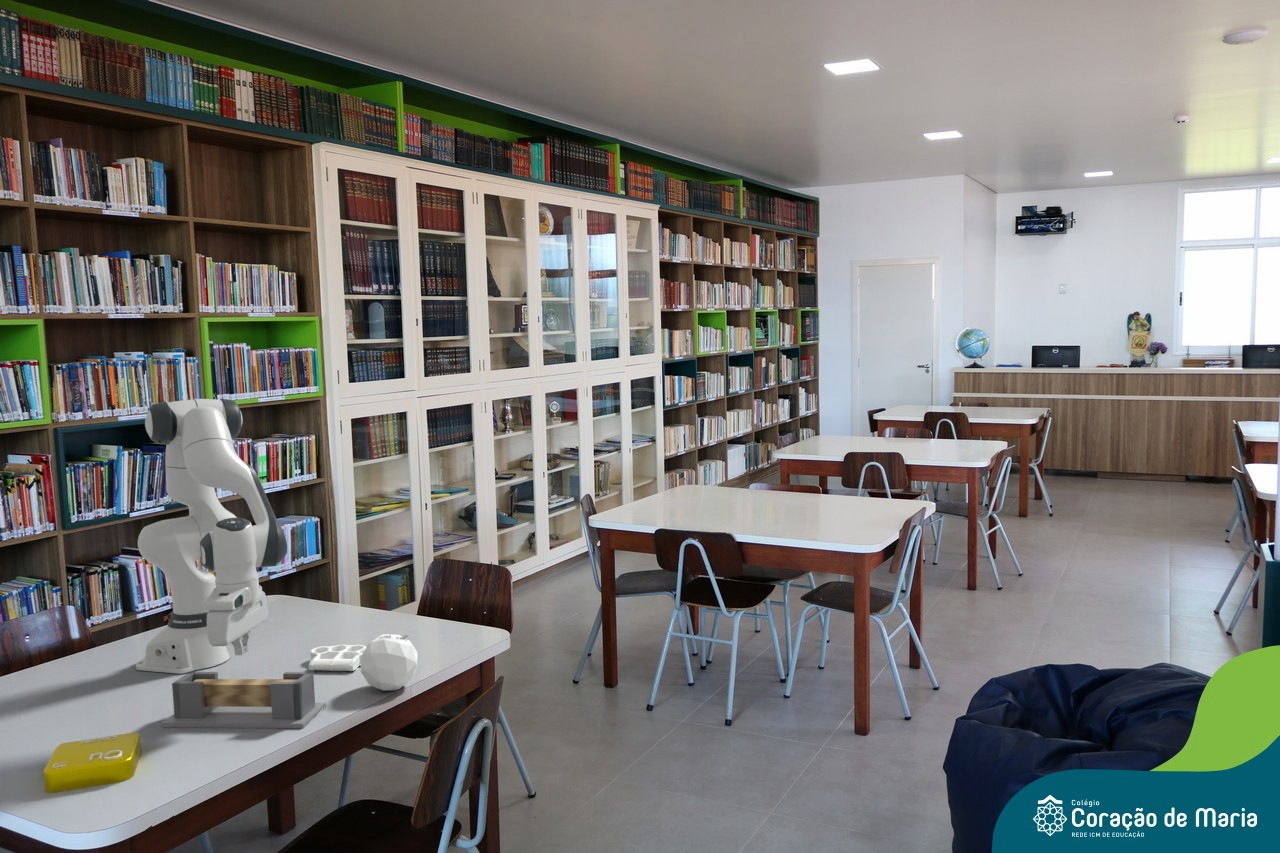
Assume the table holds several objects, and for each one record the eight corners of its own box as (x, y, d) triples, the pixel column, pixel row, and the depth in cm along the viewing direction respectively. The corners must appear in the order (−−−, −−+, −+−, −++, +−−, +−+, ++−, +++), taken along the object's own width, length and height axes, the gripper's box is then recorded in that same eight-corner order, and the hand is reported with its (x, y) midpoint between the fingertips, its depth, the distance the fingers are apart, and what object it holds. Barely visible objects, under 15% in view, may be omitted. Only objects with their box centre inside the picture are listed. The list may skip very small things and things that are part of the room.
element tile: (142, 750, 198) (140, 728, 198) (132, 781, 184) (130, 757, 184) (59, 763, 193) (57, 740, 192) (42, 796, 179) (40, 771, 178)
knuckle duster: (296, 673, 242) (321, 654, 257) (365, 674, 240) (386, 655, 255) (296, 660, 242) (320, 642, 256) (364, 661, 240) (385, 643, 255)
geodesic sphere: (429, 650, 239) (392, 611, 235) (438, 667, 226) (399, 627, 222) (383, 691, 236) (346, 653, 232) (390, 710, 223) (350, 670, 219)
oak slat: (189, 706, 213) (188, 684, 213) (198, 700, 217) (196, 679, 216) (293, 706, 211) (292, 685, 211) (300, 700, 215) (299, 679, 214)
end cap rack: (162, 726, 209) (159, 687, 209) (192, 705, 221) (189, 668, 221) (303, 728, 207) (300, 687, 206) (326, 706, 219) (323, 668, 218)
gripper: (247, 580, 222) (251, 638, 223) (199, 605, 202) (204, 668, 203) (273, 580, 221) (277, 638, 223) (228, 605, 201) (232, 668, 202)
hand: (241, 653), depth 213 cm, fingers closed
